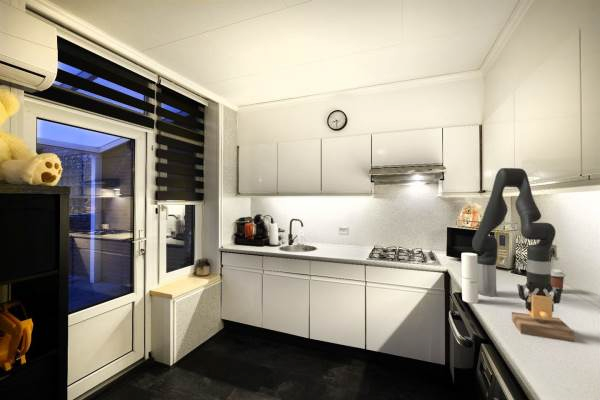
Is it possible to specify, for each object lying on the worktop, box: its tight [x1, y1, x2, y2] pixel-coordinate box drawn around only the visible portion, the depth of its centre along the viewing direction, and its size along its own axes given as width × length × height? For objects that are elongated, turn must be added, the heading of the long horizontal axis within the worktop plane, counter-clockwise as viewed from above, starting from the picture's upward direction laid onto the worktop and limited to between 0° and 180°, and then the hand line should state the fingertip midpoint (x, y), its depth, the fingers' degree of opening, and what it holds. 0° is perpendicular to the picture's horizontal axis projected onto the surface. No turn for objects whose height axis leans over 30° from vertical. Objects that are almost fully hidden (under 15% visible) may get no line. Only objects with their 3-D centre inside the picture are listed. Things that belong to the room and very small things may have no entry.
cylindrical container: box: [461, 252, 479, 304], centre depth 141 cm, size 7×7×25 cm
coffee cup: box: [550, 268, 566, 294], centre depth 152 cm, size 9×9×12 cm
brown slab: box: [511, 311, 575, 342], centre depth 109 cm, size 12×16×10 cm
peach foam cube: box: [526, 290, 553, 321], centre depth 108 cm, size 9×6×9 cm, turn 158°
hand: (539, 311), depth 109 cm, fingers closed on peach foam cube, 6 cm apart
